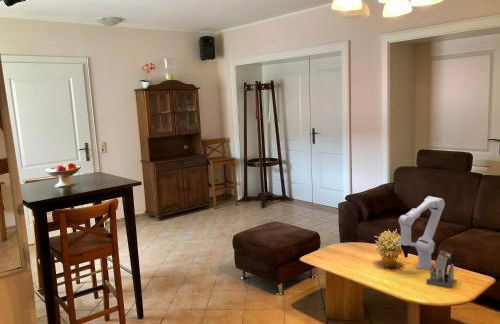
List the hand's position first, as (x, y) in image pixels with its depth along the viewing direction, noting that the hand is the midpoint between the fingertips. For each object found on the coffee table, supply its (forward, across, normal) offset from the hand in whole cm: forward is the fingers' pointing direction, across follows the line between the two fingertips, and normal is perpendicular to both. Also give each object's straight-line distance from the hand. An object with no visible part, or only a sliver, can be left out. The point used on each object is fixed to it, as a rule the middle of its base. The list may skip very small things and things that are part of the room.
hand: (406, 257), depth 243 cm
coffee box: (+9, +17, -5) cm, 20 cm away
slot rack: (+9, +19, -6) cm, 22 cm away
